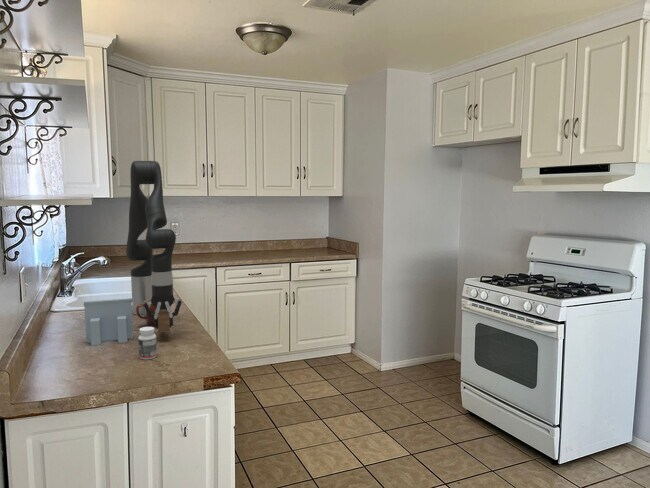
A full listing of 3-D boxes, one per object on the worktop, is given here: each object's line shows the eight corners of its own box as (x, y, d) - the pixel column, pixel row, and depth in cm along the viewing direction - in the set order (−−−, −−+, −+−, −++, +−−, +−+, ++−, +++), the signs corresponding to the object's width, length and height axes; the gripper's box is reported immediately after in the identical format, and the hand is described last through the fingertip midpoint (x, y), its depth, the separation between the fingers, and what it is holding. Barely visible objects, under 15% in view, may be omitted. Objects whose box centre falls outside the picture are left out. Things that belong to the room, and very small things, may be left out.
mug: (161, 320, 212) (161, 297, 210) (169, 325, 205) (169, 301, 204) (133, 325, 204) (132, 301, 203) (140, 330, 197) (139, 305, 196)
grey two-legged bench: (86, 341, 183) (84, 301, 182) (133, 337, 189) (132, 298, 187) (84, 346, 178) (82, 305, 176) (133, 341, 184) (131, 301, 182)
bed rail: (157, 321, 195) (156, 306, 194) (168, 320, 196) (167, 305, 195) (158, 332, 182) (157, 316, 181) (170, 331, 183) (169, 315, 182)
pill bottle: (139, 355, 169) (137, 327, 168) (156, 353, 171) (155, 325, 170) (139, 360, 164) (137, 331, 163) (157, 358, 166) (156, 330, 165)
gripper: (181, 279, 190) (182, 323, 192) (141, 281, 185) (143, 326, 187) (182, 283, 183) (184, 328, 185) (141, 286, 178) (143, 332, 180)
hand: (163, 327), depth 186 cm, fingers closed on bed rail, 4 cm apart
